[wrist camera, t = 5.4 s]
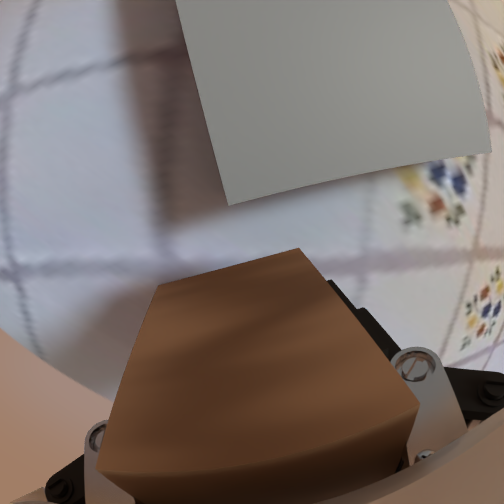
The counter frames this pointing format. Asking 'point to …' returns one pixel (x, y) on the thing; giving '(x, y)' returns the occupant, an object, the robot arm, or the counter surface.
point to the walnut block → (254, 393)
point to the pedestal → (330, 88)
